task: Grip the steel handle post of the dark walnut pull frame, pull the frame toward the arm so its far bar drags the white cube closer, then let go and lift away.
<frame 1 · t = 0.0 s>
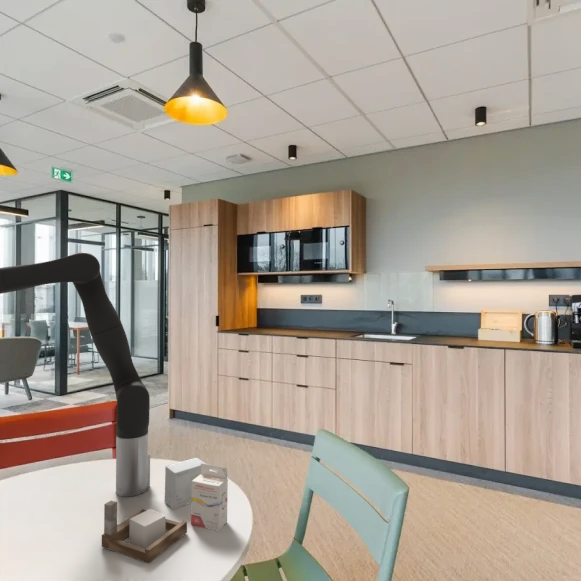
white cube: (147, 542, 104), on the table
pull frame: (145, 519, 104), point 5 cm above the table, slide at 0.0 cm
ink cartridge box: (209, 524, 112), on the table
skincare box: (185, 500, 125), on the table
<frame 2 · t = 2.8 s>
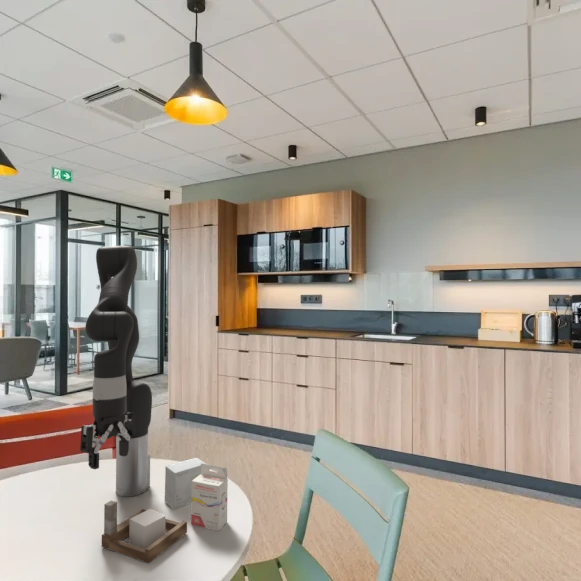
hand: (109, 461, 102), 20 cm above the table, tool pointing down, fingers open, 8 cm apart
nothing on the table moved.
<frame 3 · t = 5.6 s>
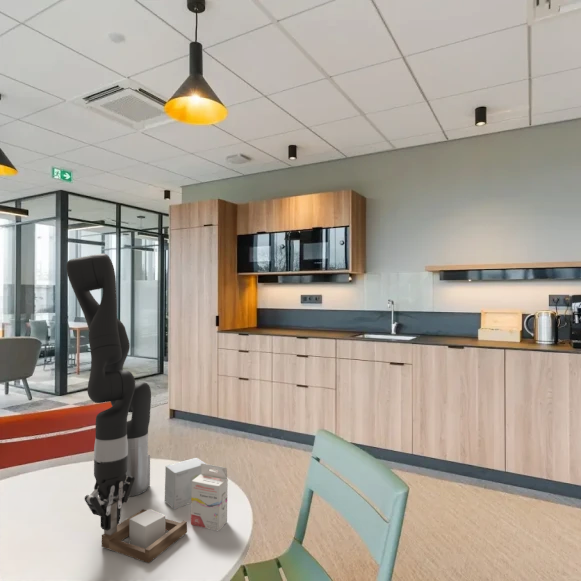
hand: (110, 526, 102), 5 cm above the table, tool pointing down, fingers closed on pull frame, 2 cm apart
pull frame: (145, 519, 104), point 5 cm above the table, slide at 0.0 cm, touching gripper
everything else where it was.
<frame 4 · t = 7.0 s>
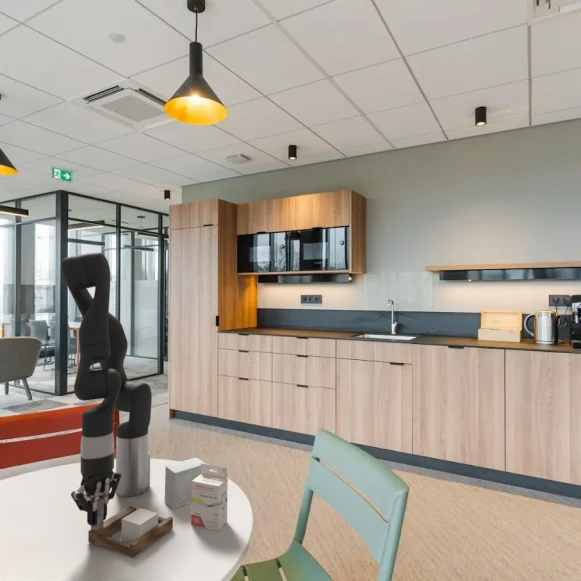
hand: (97, 522, 104), 5 cm above the table, tool pointing down, fingers closed on pull frame, 2 cm apart
white cube: (139, 541, 104), on the table, touching pull frame
pull frame: (132, 515, 106), point 5 cm above the table, slide at 4.5 cm, touching white cube, gripper
everything else where it was.
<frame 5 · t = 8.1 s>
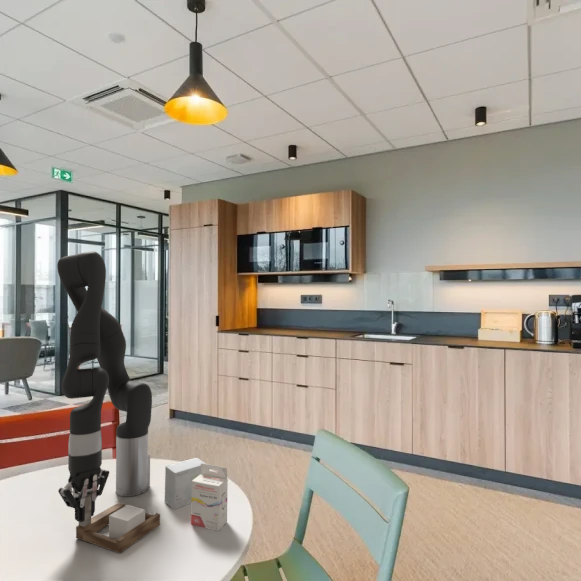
hand: (84, 518, 106), 5 cm above the table, tool pointing down, fingers closed on pull frame, 2 cm apart
white cube: (127, 537, 106), on the table
pull frame: (119, 511, 108), point 5 cm above the table, slide at 8.7 cm, touching gripper
everything else where it was.
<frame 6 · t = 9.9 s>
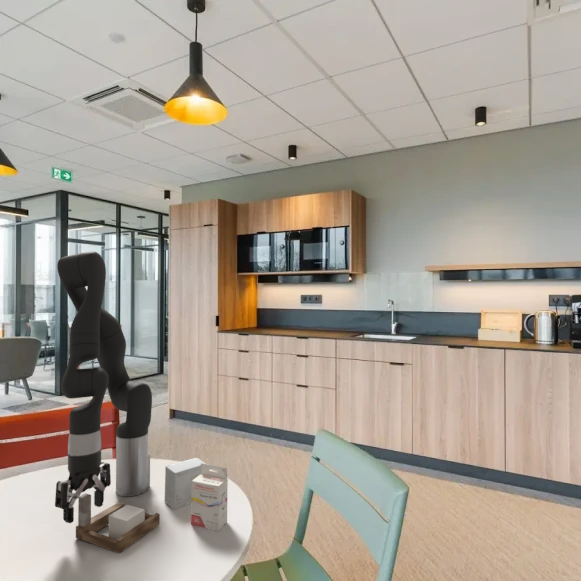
hand: (84, 513, 106), 6 cm above the table, tool pointing down, fingers open, 8 cm apart
pull frame: (119, 511, 108), point 5 cm above the table, slide at 8.8 cm
everything else where it was.
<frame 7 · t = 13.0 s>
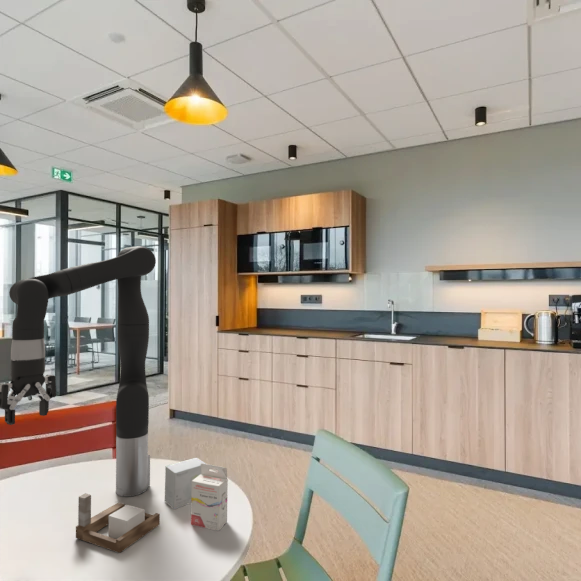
hand: (27, 419, 109), 28 cm above the table, tool pointing down, fingers open, 8 cm apart
nothing on the table moved.
at the end: pull frame slide at 8.8 cm; white cube inside the target area (3.0 cm from its centre), on the table; white cube tilted 0° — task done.
